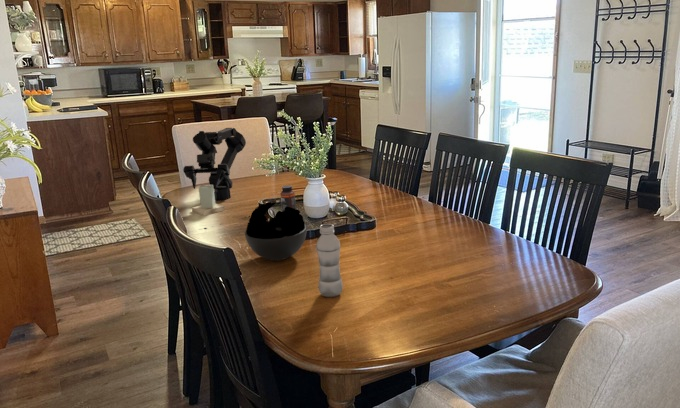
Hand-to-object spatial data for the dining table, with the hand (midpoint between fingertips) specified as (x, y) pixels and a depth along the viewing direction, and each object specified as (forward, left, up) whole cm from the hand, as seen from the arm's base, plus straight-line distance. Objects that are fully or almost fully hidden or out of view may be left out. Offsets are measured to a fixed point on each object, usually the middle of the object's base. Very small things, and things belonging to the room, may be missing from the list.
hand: (204, 187), depth 240 cm
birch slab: (-1, -1, -11) cm, 11 cm away
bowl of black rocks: (+7, +67, -12) cm, 68 cm away
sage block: (-1, -1, -9) cm, 9 cm away
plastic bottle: (+12, +102, -12) cm, 103 cm away
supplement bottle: (-25, +25, -12) cm, 37 cm away
